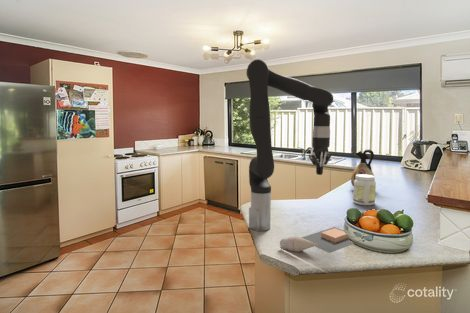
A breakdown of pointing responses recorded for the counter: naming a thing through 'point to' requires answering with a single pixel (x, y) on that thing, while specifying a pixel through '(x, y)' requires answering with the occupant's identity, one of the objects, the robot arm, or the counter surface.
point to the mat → (327, 241)
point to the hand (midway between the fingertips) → (319, 174)
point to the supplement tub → (364, 189)
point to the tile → (334, 235)
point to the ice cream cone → (296, 243)
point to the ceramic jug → (363, 165)
